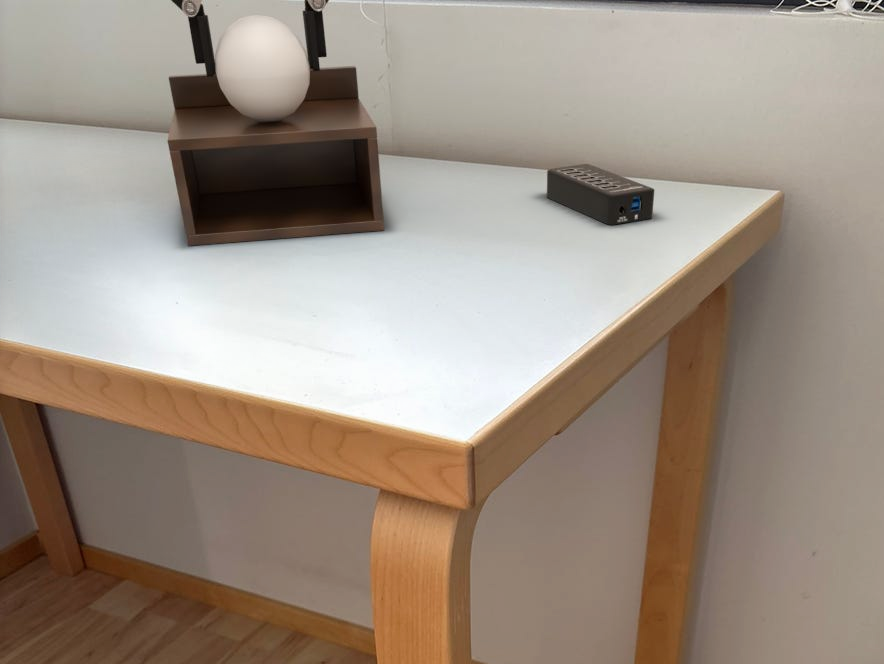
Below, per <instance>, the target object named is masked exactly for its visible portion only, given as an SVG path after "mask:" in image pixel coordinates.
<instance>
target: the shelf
mask: <svg viewBox="0 0 884 664" xmlns="http://www.w3.org/2000/svg"><path fill="white" fill-rule="evenodd" d="M357 73H358V72H357V67H356V66H355V65H346V66H327V67H320V71H313V69H310V81H309V87H308V90H307V93H306V95H305V98H304V100H303V101H302V103H301V104H300V105H299V107H298V108H297V109H296V111H295V112H294V113H292V114H290V115H289V116H287V117H286V118H284V119H282V120H279V121H272V122H261V121H256V120H254V119H251V118H249V117H247V116H245V115H242V114H241V113H240V112H239V111H238V110H237V109H236V108H235V107H233V106H232V105H231V104H230V103H229V101H228V99H227V98H226V96H225V95H224V93H223V91H222V90H221V88H220V85H219V82H218V79H217V75H214V77H207V74H206V73H199V74H197V73H196V74H182V75H180V74H179V75H169V76H168V82H169V88H170V94H171V99H172V103H173V108H174V110H173V113H172V118H171V123H170V127H169V131H168V136H167V139H166V140H167V145H168V150H169V155H170V160H171V166H172V171H173V176H174V181H175V185H176V191H177V197H178V202H179V206H180V213H181V217H182V222H183V227H184V233H185V238H186V243H187V246H189V247H190V246H191V247H192V246H203V245H218V244H229V243H241V242H253V241H266V240H279V239H280V240H281V239H292V238H303V237H304V238H306V237H316V236H317V237H318V236H331V235H341V234H342V235H343V234H356V233H366V232H368V233H369V232H380V231H385V222H384V209H383V197H382V183H381V169H380V156H379V145H378V144H379V142H378V129H377V126H376V124H375V122H374V121H373V119H372V118H371V115H370V114H369V112H368V111H367V110H366V107H365V106H364V104H363V103H362V100H361V99H360V97H359V86H358V74H357Z"/></svg>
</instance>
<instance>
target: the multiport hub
mask: <svg viewBox="0 0 884 664" xmlns="http://www.w3.org/2000/svg"><path fill="white" fill-rule="evenodd" d="M546 198H547V199H550V200H552V201H553V202H556V203H559V204H560V205H563V206H565V207H568V208H570V209H572V210H574V211H576V212H578V213H581V214H583V215H585V216H588V217H590V218H592V219H594V220H597V221H599V222H602V223H603V224H606V225H608V226H616V225H621V224H626V223H627V224H628V223H633V222H639V221H644V220H650V219H651V220H652V219H653V212H654V201H655V188H652V187H650V186H648V185H645V184H643V183H640V182H638V181H635V180H632V179H629V178H626V177H623V176H621V175H619V174H617V173H613V172H611V171H608V170H605V169H602V168H600V167H597V166H594V165H591V164H590V163H582V164H576V165H575V164H574V165H568V166H561V167H554V168H549V169H547V171H546Z"/></svg>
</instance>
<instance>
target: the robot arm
mask: <svg viewBox="0 0 884 664" xmlns="http://www.w3.org/2000/svg"><path fill="white" fill-rule="evenodd" d="M170 1H171V2H172V3H173V4H174V5H175V6H176V7H178V9H180V10H181V11H182V12H183V13H184V15H185V16H187V21H188V25H189V31H190V38H191V43H192V49H193V55H194V60H195V64H196V65H199V64H204V67H205V74H207V77H214V75H216V72H215V54H214V47H213V39H212V35H211V29H210V22H209V16H208V14H205V9H204V4H203V3H202V2H203V0H170ZM303 1H304V10H302V20H303V28H304V36H305V45H306V53H307V57H308V62H309V66H310V67H311V69H313V71H320V68H321V67H320V58H327V55H328V53H327V45H326V35H325V34H326V33H325V25H324V15H323V10H324V9H325V7H326V5H327V4H328V3H329V1H330V0H303Z"/></svg>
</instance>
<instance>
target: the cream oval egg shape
mask: <svg viewBox="0 0 884 664" xmlns="http://www.w3.org/2000/svg"><path fill="white" fill-rule="evenodd" d="M214 59H215V72H216V75H217V79H218V82H219V85H220V88H221V90H222V91H223V93H224V95H225V96H226V98H227V99H228V101H229V103H230V104H231V105H232V106H233V107H235V108H236V109H237V110H238V111H239V112H240V113H241V114H242V115H245V116H247V117H249V118H251V119H254V120H256V121H261V122H272V121H279V120H282V119H284V118H286V117H287V116H289V115H290V114H292V113H294V112H295V111H296V109H297V108H298V107H299V105H300V104H301V103H302V101H303V100H304V98H305V95H306V93H307V90H308V87H309V81H310V69H311V67H310V66H309V62H308V55H307V49H305V46H304V45H303V43H302V42H301V39H300V38H299V36H298V35H297V34H296V33H295V32H294V31H293V30H292V29H291V28H290V26H288V25H287V24H286V23H285V22H282V21H280V20H279V19H276V18H274V17H272V16H271V15H265V14H251V15H246V16H242V17H240V18H239V19H237V20H236V21H234V22H233V23H231V24H230V25H228V26H227V28H226V29H225V30H224V32H223V34H222V35H221V36H220V38H219V40H218V44H217V47H216V50H215V54H214Z"/></svg>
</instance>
